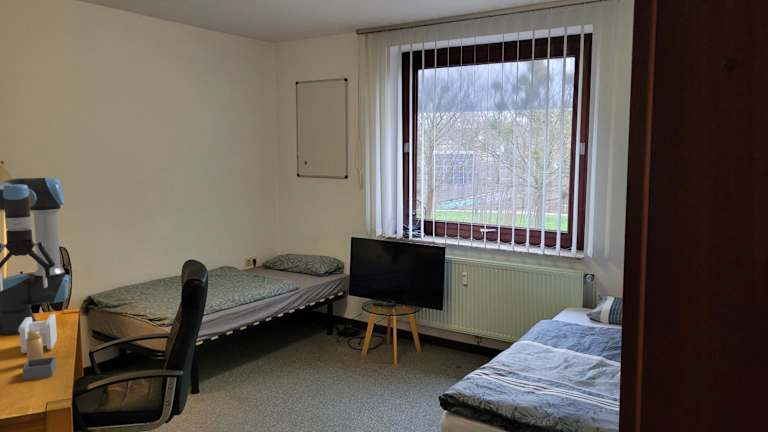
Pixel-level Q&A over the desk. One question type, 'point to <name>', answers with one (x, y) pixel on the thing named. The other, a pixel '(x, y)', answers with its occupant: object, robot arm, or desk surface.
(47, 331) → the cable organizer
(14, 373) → the desk surface
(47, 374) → the grey open square box
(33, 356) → the beige rounded figurine
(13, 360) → the desk surface
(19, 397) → the desk surface
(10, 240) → the robot arm
